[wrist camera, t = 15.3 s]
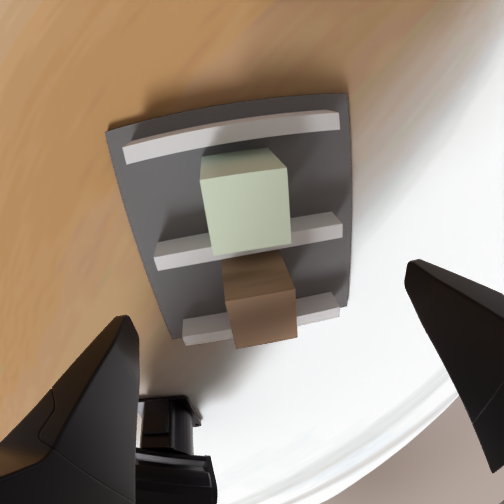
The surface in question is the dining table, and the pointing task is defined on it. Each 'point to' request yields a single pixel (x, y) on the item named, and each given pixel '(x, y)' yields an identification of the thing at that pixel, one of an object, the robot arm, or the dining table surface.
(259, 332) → the walnut block
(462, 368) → the robot arm
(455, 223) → the dining table surface
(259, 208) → the sage block
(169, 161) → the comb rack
